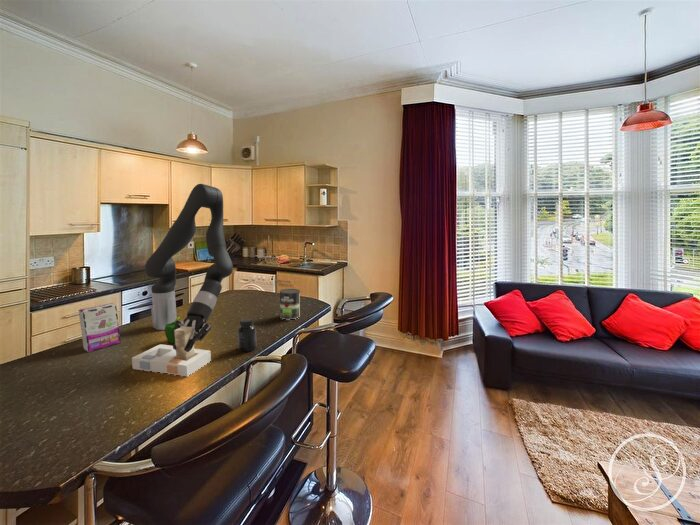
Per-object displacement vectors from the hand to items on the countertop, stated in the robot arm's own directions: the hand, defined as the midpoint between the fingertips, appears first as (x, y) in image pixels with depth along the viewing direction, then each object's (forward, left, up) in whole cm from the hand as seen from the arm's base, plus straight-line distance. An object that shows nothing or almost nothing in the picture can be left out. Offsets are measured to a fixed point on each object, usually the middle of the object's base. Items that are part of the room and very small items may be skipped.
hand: (180, 350), depth 109 cm
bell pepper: (-20, +20, -7) cm, 29 cm away
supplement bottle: (+12, +21, -7) cm, 25 cm away
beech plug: (0, +2, -5) cm, 5 cm away
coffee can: (+12, +62, -7) cm, 64 cm away
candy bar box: (-45, +8, -7) cm, 46 cm away
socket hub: (-6, +2, -7) cm, 9 cm away
